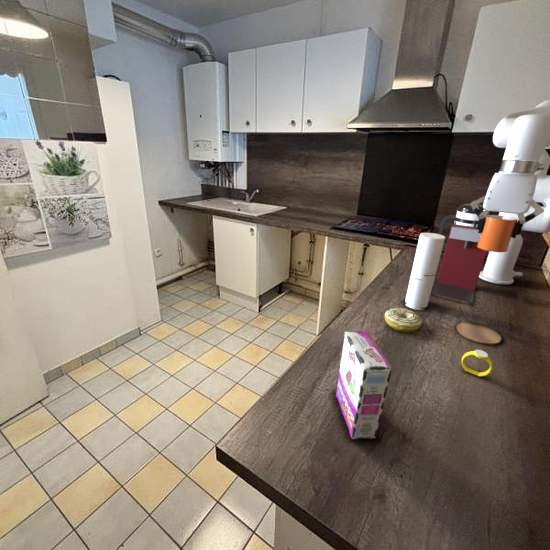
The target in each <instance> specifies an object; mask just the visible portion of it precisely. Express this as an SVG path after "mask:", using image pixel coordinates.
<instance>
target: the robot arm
mask: <svg viewBox="0 0 550 550" xmlns="http://www.w3.org/2000/svg"><path fill="white" fill-rule="evenodd" d="M492 135H493V136H492V143H493V145H494V146H495V147H496V148H499V149H505V150H504V153H503V157H502V160H501V164H500V167H499V171H498V172H495V173H494V175H493V176H492V178H491V181H490V183H489V184H488V185H489V186H488V188H487V191H486V194H485V195H483V196H481V197H479V198H476V199H477V200H475V201H473V200H472V201H473V202H472V201H471V202H470V203H469V204H470V205H471V207H472V209H473V210H474V212H475V213H476V215H477V216H478V217H479V222H478V225H477V228H476V229H478V230H479V232H478V233H481V232H482V228H483V225H484V222H485V216H486V215H487V214H489V213H490V212H495V213H498V215H500V216H508V217H513V218H516V219H518V221H517V224H516V227H515V229H514V232H513V235H512V238H511V241H510V244H509V247H508V250H507V252H492V251H488V255H487V257H486V261H485V264H484V267H483V270H481V272H480V275H479V278H478V279H481V280H483V281H485V282H489V283H492V284H496V285H506V286H508V285H512V284H514V281H515V280H514V278H515V277H518V278H520V277H523V275H524V274H523V272H522V271H515V270H514V268H515V265H516V262H517V260H518V257H519V254H520V252H521V249H522V246H523V242H524V239H523V237H522V235H521V233H522V231H526V232H531V233H533V232H534V233H540V234H546V233H550V175H549V174H547V172H548V170H549V167H550V155H549V153H548V152H547V150H550V99H547V100H544V101H541V103H539V104H537V105H536V106H535V107H533V108H528V109H525V110H521V111H517V112H512V113H509V114H507V115H506V116H504V117H503V118H502V119H501V120H500V121H499V123H497V125H496V127H495V128H494V132H493V134H492ZM481 203H483V204H482V205H483V208H484V209H485V210H484V211H483V212H481V211H480V209H479V208H478V206H477V205H480V204H481ZM539 203H541V204H545V206H541V205H540V204H539Z"/></svg>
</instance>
